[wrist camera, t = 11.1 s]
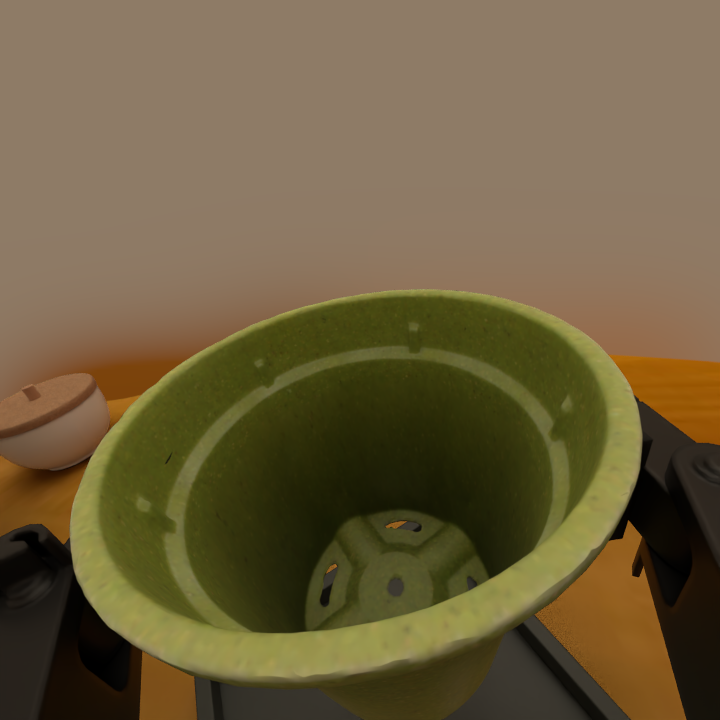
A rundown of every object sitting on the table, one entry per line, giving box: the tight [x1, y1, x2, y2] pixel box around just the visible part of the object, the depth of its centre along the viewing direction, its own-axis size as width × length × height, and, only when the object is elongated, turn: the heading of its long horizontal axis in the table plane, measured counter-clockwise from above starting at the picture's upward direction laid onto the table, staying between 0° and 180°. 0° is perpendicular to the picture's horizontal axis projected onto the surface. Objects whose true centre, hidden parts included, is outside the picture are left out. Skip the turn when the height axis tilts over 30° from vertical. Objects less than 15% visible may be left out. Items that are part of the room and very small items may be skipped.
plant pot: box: [70, 289, 643, 720], centre depth 9 cm, size 9×9×9 cm
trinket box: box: [0, 373, 110, 471], centre depth 39 cm, size 11×11×9 cm
